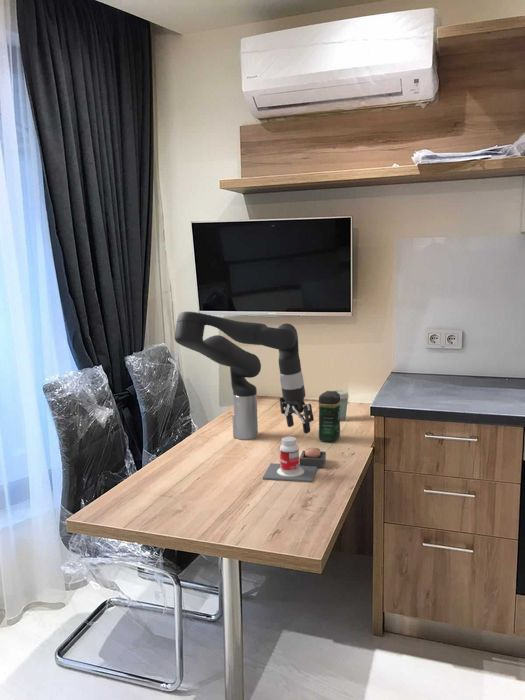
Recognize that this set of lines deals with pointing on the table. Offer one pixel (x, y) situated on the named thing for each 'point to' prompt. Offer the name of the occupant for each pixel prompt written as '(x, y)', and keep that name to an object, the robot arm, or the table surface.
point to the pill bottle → (289, 455)
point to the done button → (312, 452)
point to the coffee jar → (329, 416)
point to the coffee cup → (343, 404)
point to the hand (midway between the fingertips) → (298, 429)
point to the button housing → (313, 460)
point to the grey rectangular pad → (302, 475)
